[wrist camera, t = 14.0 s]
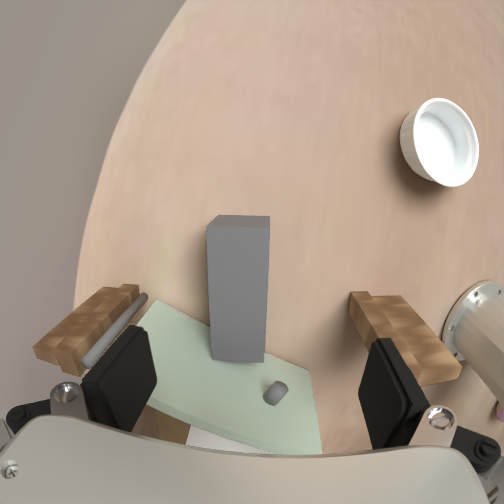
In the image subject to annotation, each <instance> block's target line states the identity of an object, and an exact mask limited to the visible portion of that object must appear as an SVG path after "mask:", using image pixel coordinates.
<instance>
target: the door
mask: <svg viewBox="0 0 504 504" xmlns="http://www.w3.org/2000/svg"><path fill="white" fill-rule="evenodd" d="M147 299H148V296H147V294H146V293H141V294H140V295H139V296H138V297H137V298H136V299H135V301H134V302H133V303H132V304H131V305H130V306H129V307H128V308H127V309H126V310H125V311H124V312H123V313H122V315H121V316H120V317H119V318H118V319H117V320H116V321H115V322H114V323H113V324H112V325H111V327H110V328H109V329H108V330H107V331H106V332H105V333H104V334H103V336H102V337H101V338H100V339H99V340H98V341H97V342H96V343H95V345H94V346H93V347H92V348H91V349H90V350H89V351H88V353H87V354H86V355H85V356H84V357H83V358H82V359H81V363H82V365H83V366H84V367H85V368H87V369H90V368H91V367H92V366H93V365H94V363H95V362H96V361H97V360H98V358H99V357H100V356H101V355H102V353H103V352H104V351H105V350H106V348H107V347H108V346H109V345H110V344H111V342H112V341H113V340H114V339H115V337H116V336H117V335H118V334H119V333H120V331H121V330H122V329H123V328H124V327H125V325H126V324H127V323H128V322H129V321H130V319H131V318H132V317H133V316H134V315H135V314H136V312H137V311H138V310H139V309H140V308H141V306H142V305H143V304H144V303H145V302H146V301H147ZM136 326H140V327H143V328H144V330H145V331H147V333H148V337H149V342H150V347H151V352H152V357H153V362H154V366H155V371H156V375H157V385H156V387H155V389H154V391H153V392H152V394H151V396H150V398H149V400H148V402H147V403H146V404H147V405H149V406H151V407H153V408H155V409H157V410H159V411H161V412H163V413H166V414H168V415H170V416H172V417H174V418H177V419H179V420H181V421H183V422H186V423H188V424H190V425H193V426H195V427H198V428H200V429H203V430H205V431H208V432H211V433H213V434H216V435H219V436H221V437H224V438H227V439H230V440H233V441H236V442H240V443H242V444H245V445H249V446H252V447H256V448H259V449H262V450H266V451H270V452H273V453H277V454H281V455H312V454H323V453H322V446H321V440H320V433H319V426H318V420H317V414H316V408H315V401H314V395H313V390H312V384H311V378H310V372H309V370H306V369H304V368H301V367H299V366H296V365H294V364H291V363H289V362H286V361H284V360H282V359H279V358H277V357H274V356H272V355H270V354H268V353H264V363H254V362H235V361H221V360H212V348H211V332H210V327H209V326H207V325H205V324H203V323H201V322H199V321H197V320H195V319H194V318H192V317H190V316H188V315H186V314H184V313H182V312H180V311H178V310H176V309H174V308H173V307H171V306H169V305H167V304H165V303H163V302H161V301H160V300H158V299H157V300H156V301H155V302H154V303H153V305H152V306H151V307H150V308H149V310H148V311H147V312H146V313H145V315H144V316H143V317H142V319H141V320H140V321H139V322H138V324H137V325H136Z"/></svg>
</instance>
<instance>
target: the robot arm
mask: <svg viewBox="0 0 504 504" xmlns="http://www.w3.org/2000/svg"><path fill="white" fill-rule="evenodd" d="M442 343H443V344H444V345H445V346H446V347H447V349H448V350H449V351H450V352H451V353H452V355H453V356H454V357H455V358H456V359H457V361H463V360H466V361H467V362H468V363H469V364H470V366H471V367H472V368H473V369H474V370H475V372H476V373H477V374H478V375H479V377H480V378H481V379H482V380H483V382H484V383H485V384H486V385H487V387H488V388H489V389H490V391H491V392H492V393H493V395H494V396H495V397H496V398H497V400H498V401H499V402H500V404H501V405H502V407H503V408H504V290H503V288H502V287H501V286H500V285H499V284H497V283H496V282H494V281H490V280H486V281H482V282H479V283H477V284H475V285H474V286H472V287H471V288H470V289H468V290H467V291H466V292H465V293H464V294H463V295H462V296H461V297H460V299H459V300H458V301H457V303H456V304H455V305H454V307H453V309H452V310H451V312H450V314H449V316H448V318H447V320H446V323H445V326H444V330H443V335H442ZM156 385H157V375H156V371H155V366H154V362H153V357H152V352H151V347H150V342H149V337H148V333H147V331H145V330H144V328H143V327H140V326H133V325H130V326H128V328H127V329H126V330H125V331H124V332H123V333H122V334H121V335H120V336H119V338H118V339H117V340H116V341H115V342H114V343H113V344H112V345H111V347H110V348H109V349H108V350H107V351H106V352H105V353H104V355H103V356H102V357H101V358H100V359H99V360H98V361H97V363H96V364H95V365H94V366H93V367H92V368H91V370H90V371H89V372H88V373H87V374H86V375H85V377H84V378H83V379H82V383H81V384H80V385H78V384H77V383H75V382H63V383H60V384H58V385H56V386H55V387H54V388H53V389H52V391H51V393H50V399H47V400H43V401H39V402H34V403H29V404H25V405H20V406H16V407H14V408H12V409H11V410H10V411H9V412H8V414H7V416H6V421H4V420H3V419H0V504H504V456H501V455H500V454H501V450H500V446H499V444H498V443H497V442H496V441H495V440H494V439H492V438H489V437H487V436H484V435H481V434H478V433H476V432H473V431H470V430H468V429H465V428H463V427H460V426H457V424H458V418H457V415H456V413H455V412H454V411H453V410H452V409H451V408H449V407H447V406H443V405H434V406H430V404H429V402H428V401H427V399H426V397H425V395H424V393H423V391H422V389H421V388H420V386H419V384H418V382H417V380H416V379H415V377H414V375H413V373H412V371H411V370H410V368H409V367H407V365H406V363H405V361H404V360H403V358H402V356H401V354H400V353H399V351H398V349H397V348H396V346H395V344H394V342H393V341H392V339H391V338H377V339H376V341H375V342H372V344H371V347H370V351H369V355H368V359H367V363H366V366H365V370H364V373H363V377H362V380H361V383H360V387H359V390H358V397H359V400H360V404H361V407H362V411H363V414H364V418H365V421H366V425H367V429H368V432H369V436H370V440H371V444H372V448H373V450H367V451H358V452H346V453H333V454H312V455H278V454H277V455H276V454H255V453H242V452H232V451H222V450H215V449H207V448H200V447H194V446H189V445H183V444H178V443H173V442H168V441H163V440H159V439H154V438H150V437H146V436H142V435H138V434H135V433H131V432H132V430H133V428H134V426H135V424H136V422H137V420H138V418H139V417H140V415H141V413H142V411H143V409H144V407H145V405H146V403H147V402H148V400H149V398H150V396H151V394H152V392H153V391H154V389H155V387H156Z"/></svg>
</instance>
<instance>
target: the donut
mask: <svg viewBox="0 0 504 504" xmlns="http://www.w3.org/2000/svg"><path fill="white" fill-rule="evenodd" d="M496 410H497V414H496V416H497V417H498V418H499V419H500V421H502V422H504V408H503V407H502V405H501V404H500V402H499V403H498V405H497V408H496Z"/></svg>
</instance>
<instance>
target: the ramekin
mask: <svg viewBox="0 0 504 504" xmlns="http://www.w3.org/2000/svg"><path fill="white" fill-rule="evenodd" d="M400 145H401V150H402V153H403V156H404V158H405V160H406V162H407V163H408V165H409V166H410V167H411V169H412V170H413V171H414V172H415V173H417V174H418V175H420V176H422V177H423V178H426V179H428V180H430V181H434V182H437V183H439V184H441V185H443V186H447V187H457V186H460V185H462V184H464V183H466V182H467V181H468V180H469V179H470V178H471V176H472V175H473V173H474V171H475V169H476V166H477V162H478V156H479V146H478V139H477V135H476V132H475V129H474V127H473V124H472V123H471V121H470V119H469V117H468V116H467V115H466V113H465V112H464V111H463V110H462V109H461V108H460V107H459V106H457V105H456V104H454V103H453V102H451V101H449V100H446V99H442V98H434V99H430V100H428V101H426V102H425V103H423V104H422V105H421V106H420V107H419V108H417V109H415V110H413V111H412V112H411V113H410V114H408V115H407V116H406V118H405V119H404V121H403V123H402V126H401V130H400Z"/></svg>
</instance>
